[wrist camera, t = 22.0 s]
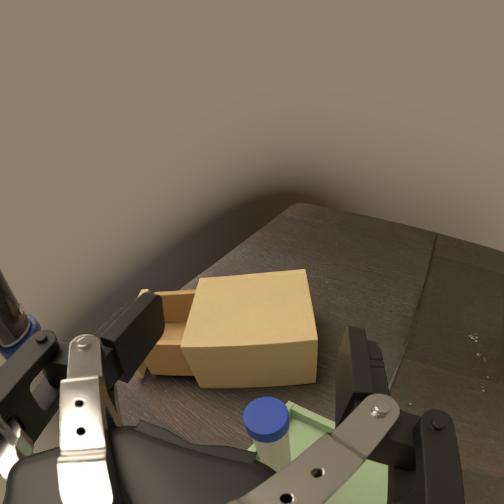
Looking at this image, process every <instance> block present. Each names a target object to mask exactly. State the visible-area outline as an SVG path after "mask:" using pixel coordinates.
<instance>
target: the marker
mask: <svg viewBox="0 0 504 504" xmlns="http://www.w3.org/2000/svg"><path fill="white" fill-rule="evenodd" d="M243 422H244V424H245V427H246V429H247V432H248V434H249V435H250V436H251V437H252V440H253V442H254V445H255V447H256V450H257V452H258V454H259V457H260V459H261V461H262V463H264V464H266V465H268V466H269V467H271V468H272V469H273V470H275V471H276V472H278V471H280V470H281V469H282V468H284V467H285V466H286V465H288V464H289V463H290V462H291V453H290V441H289V430H288V429H289V412H288V409H287V407H286V405H285V404H284V403H283V402H282V401H281V400H279V399H277V398H274V397H260V398H257V399H255V400H253V401H251V402H250V403H249V404H248V405H247V406H246V408H245V410H244V412H243Z"/></svg>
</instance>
